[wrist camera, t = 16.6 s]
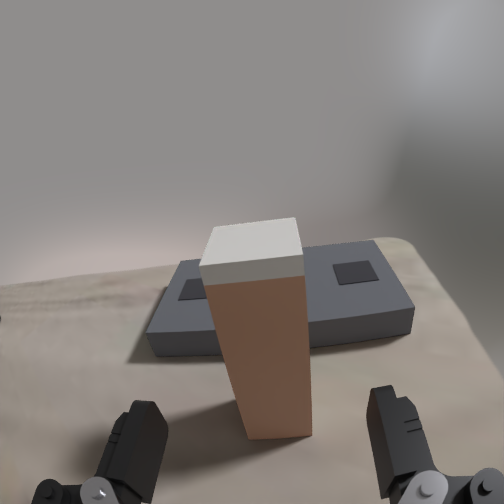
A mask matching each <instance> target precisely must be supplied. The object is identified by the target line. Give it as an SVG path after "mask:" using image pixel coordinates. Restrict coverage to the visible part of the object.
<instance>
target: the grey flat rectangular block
mask: <svg viewBox="0 0 504 504" xmlns="http://www.w3.org/2000/svg"><path fill="white" fill-rule="evenodd" d="M302 251H303V258H304V271H305V284H306V298H307V314H308V330H309V348H313V347H322V346H330V345H338V344H346V343H353V342H360V341H367V340H373V339H379V338H386V337H391V336H397V335H403V334H408V333H411V328H412V322H413V317H414V311H415V306H414V304H413V303H412V301H411V299H410V298H409V296H408V294H407V292H406V291H405V289H404V288H403V286H402V284H401V283H400V281H399V279H398V278H397V276H396V274H395V273H394V271H393V270H392V268H391V266H390V265H389V263H388V262H387V260H386V259H385V257H384V256H383V254H382V252H381V251H380V249H379V248H378V246H377V245H376V243H375V242H374V240H368V241H359V242H350V243H341V244H332V245H324V246H314V247H306V248H302ZM200 261H201V259H195V260H186V261H181V262H180V264H179V266H178V268H177V270H176V272H175V274H174V275H173V277H172V279H171V281H170V283H169V285H168V287H167V289H166V291H165V293H164V295H163V297H162V300H161V302H160V304H159V306H158V308H157V310H156V312H155V314H154V316H153V318H152V320H151V322H150V324H149V326H148V328H147V331H146V335H147V337H148V340H149V342H150V344H151V347H152V349H153V351H154V354H155V356H203V355H222V351H221V348H220V344H219V341H218V337H217V333H216V330H215V326H214V322H213V319H212V315H211V311H210V308H209V304H208V300H207V296H206V292H205V289H204V285H203V281H202V277H201V273H200V269H199V264H200Z"/></svg>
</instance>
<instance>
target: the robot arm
mask: <svg viewBox="0 0 504 504" xmlns="http://www.w3.org/2000/svg"><path fill="white" fill-rule="evenodd" d="M0 321H1V317H0ZM366 418H367V427H368V431H369V436H370V441H371V446H372V451H373V456H374V462H375V467H376V472H377V478H378V484H379V490H380V496H381V499H384V498H389V499H390V504H504V476H503V474H502V473H501V472H500V471H499V470H497V469H494V468H485V469H483V470H481V471H479V472H478V473H477V474H476V475H475V476H456V477H453V476H447V475H444V474H442V473H441V472H439V471H438V470H437V468H436V467H435V465H434V463H433V460H432V457H431V453H430V450H429V447H428V443H427V440H426V437H425V434H424V431H423V430H422V425H421V422H420V420H419V416H418V413H417V410H416V407H415V405H414V404H413V403H412V402H411V401H410V400H409V399H408V398H407V397H406V396H405V397H401V398H396V395H395V391H394V389H393V387H392V385H388V386H382V387H377V388H372V389H371V391H370V396H369V402H368V407H367V414H366ZM111 433H112V434H110V437H109V440H108V443H107V445H106V448H105V450H104V453H103V456H102V458H101V461H100V464H99V466H98V469H97V472H96V474H95V476H94V477H92V478H89V479H88V480H86V481H85V482H84V483H83V484H81V485H61V484H60V483H58V482H57V481H56V480H53V479H46V480H44V481H42V482H41V483H40V484H39V485H38V486H37V488H36V491H35V494H34V497H33V500H32V503H31V504H141V502H143V503H148V504H151V502H152V497H153V493H154V489H155V485H156V481H157V477H158V473H159V469H160V465H161V461H162V457H163V453H164V449H165V445H166V441H167V438H168V425H167V422H166V420H165V419H164V417H163V415H162V414H161V412H160V410H159V409H158V407H157V405H156V404H155V402H153V401H140V400H135V401H134V402H133V403H132V405H131V408H130V411H129V413H128V412H123V414H122V415H121V416H120V417H119V418H118V419H117V420H116V421H115V424H114V427H113V429H112V432H111Z"/></svg>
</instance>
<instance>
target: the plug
mask: <svg viewBox="0 0 504 504" xmlns="http://www.w3.org/2000/svg"><path fill="white" fill-rule="evenodd" d="M199 269H200V273H201V277H202V281H203V285H204V289H205V292H206V296H207V300H208V304H209V308H210V311H211V315H212V319H213V322H214V326H215V330H216V333H217V337H218V341H219V344H220V348H221V351H222V355H223V358H224V362H225V365H226V368H227V372H228V375H229V378H230V382H231V385H232V388H233V392H234V395H235V398H236V402H237V405H238V408H239V411H240V414H241V417H242V421H243V424H244V427H245V430H246V433H247V436H248V439H249V440H258V439H277V438H291V437H303V436H312V401H311V372H310V350H309V330H308V314H307V298H306V284H305V271H304V258H303V251H302V247H301V242H300V237H299V233H298V228H297V223H296V219H295V217H293V218H284V219H276V220H268V221H259V222H250V223H242V224H234V225H226V226H218V227H214V229H213V231H212V234H211V236H210V239H209V241H208V244H207V246H206V249H205V251H204V254H203V256H202V259H201V261H200V264H199Z"/></svg>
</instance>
